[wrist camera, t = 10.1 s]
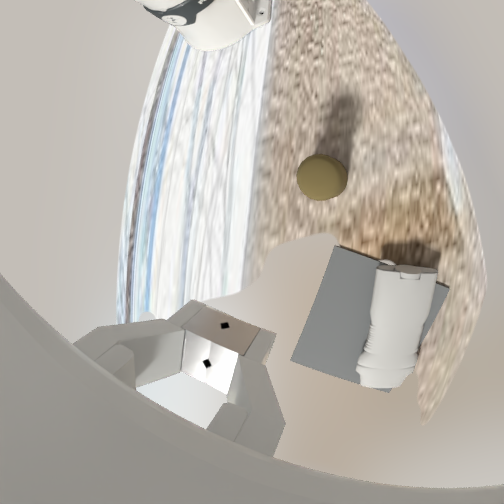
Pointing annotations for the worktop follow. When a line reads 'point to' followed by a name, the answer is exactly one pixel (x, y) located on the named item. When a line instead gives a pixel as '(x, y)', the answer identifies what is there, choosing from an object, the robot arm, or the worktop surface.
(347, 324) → the mat
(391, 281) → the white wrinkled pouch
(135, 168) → the worktop surface
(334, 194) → the cork
